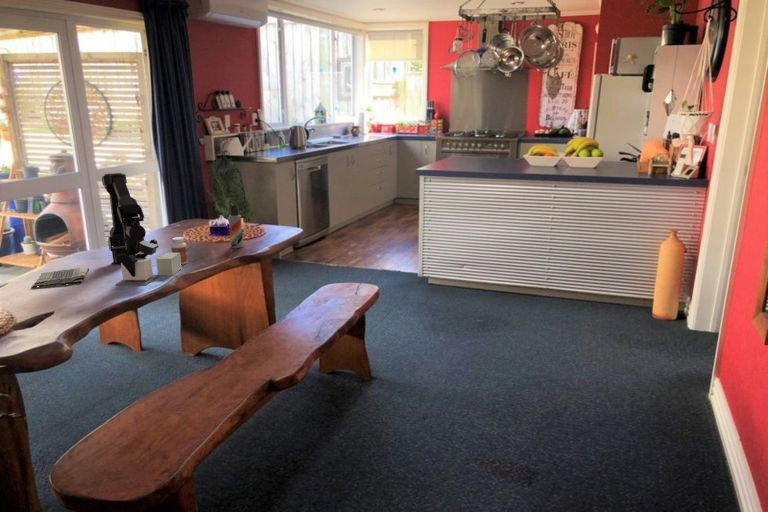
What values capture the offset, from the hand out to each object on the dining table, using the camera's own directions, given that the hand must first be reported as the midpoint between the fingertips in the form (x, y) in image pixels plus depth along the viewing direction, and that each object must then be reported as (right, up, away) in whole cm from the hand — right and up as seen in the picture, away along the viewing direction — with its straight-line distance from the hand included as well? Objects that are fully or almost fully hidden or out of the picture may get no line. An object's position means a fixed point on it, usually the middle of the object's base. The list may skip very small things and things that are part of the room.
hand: (137, 274), depth 218 cm
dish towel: (-31, -3, +3) cm, 31 cm away
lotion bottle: (+26, +11, +49) cm, 57 cm away
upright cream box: (0, -1, 0) cm, 2 cm away
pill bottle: (+8, +4, +23) cm, 25 cm away
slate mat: (0, -2, +1) cm, 3 cm away
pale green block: (+9, 0, +11) cm, 14 cm away
